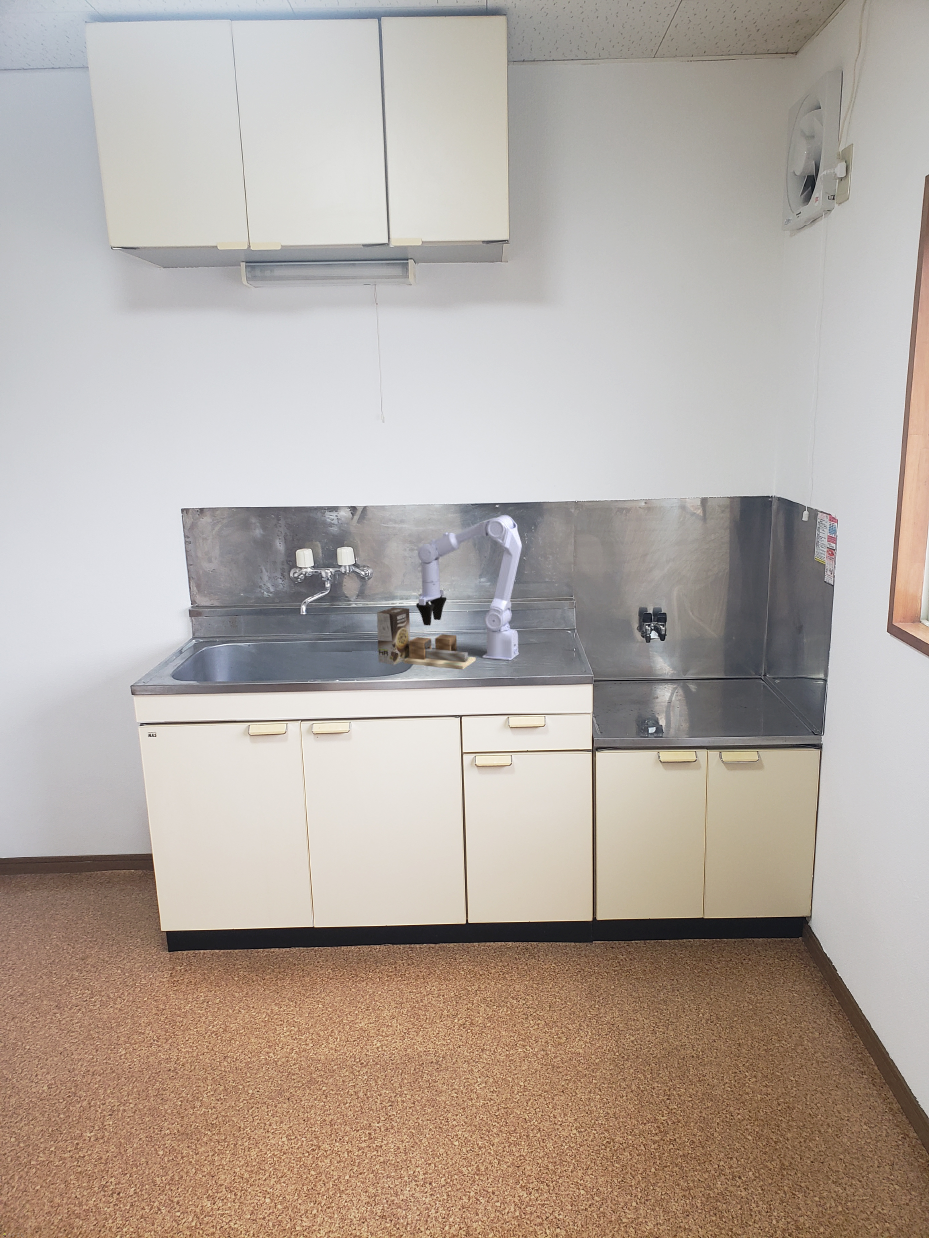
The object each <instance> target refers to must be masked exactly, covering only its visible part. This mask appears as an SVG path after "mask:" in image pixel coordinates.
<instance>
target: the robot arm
mask: <svg viewBox="0 0 929 1238" xmlns="http://www.w3.org/2000/svg"><path fill="white" fill-rule="evenodd" d="M478 536H483V537H488V536H489V537H490V538H491V539H492V540H493V541H495V542H497V543H498V544H499V546H500V547H501V548H502V549H503V555H502V558H501V564H500V568H499V572H498V577H497V581H496V587H495V591H494V596H493V599H492V601H491V604H490V605H489V610H488V611H487V612H486V614H485V616H484V618H483V619H484V620H483V621H484V625H485V627H486V653H485V654H483V655H482V658H483V659H493V660H503V661H512V660H513V659H515V658H516V657H517V656H518V655H519V654H520V652H519V634H518V631H517V630H516V629H512V628H511V626H510V623H509V622H510V621H511V620H512V616H513V614H512V610H511V608H512V602H511V597H512V592H513V589H514V583H515V579H516V575H517V570H518V567H519V566H518V565H519V562H520V557H521V553H522V547H523V546H522V545H523V544H522V541H521V538H520V534H519V531H518V524H517V523H516V521H514V519H513V518H512V517H511V516H509V515H507V514H501V515H499V516H498V517H492V518H489V519H486V520H483V521H481V522H477V523H476V524H474V525H472V526H470V527H468V528H466V529H464V530H462V531H461V532H458V533H457V534H456V533H454V532H448V531H447V532H444V533H443V534H442V536H441V537H438V538H436V539H435V538H433V539H431V540H430V542H428V543H425V544H422V545H421V546H420V547H419V548H418V551H417V556H418V560H420V565H421V592H420V593H419V594H418V596H419V597H420V598H418V602H417V603H415V604H416V605H415V606H416V608H417V610H418V612H419V614H420V617H421V619H422V623H423V625H424V626H431V625H432V616H433V620H435V621H441V619H442V616H443V610H444V607H445V604H446V602H447V597H446V596H444V595H445V594H444V591H445V590H444V589H441V581H440V579H441V578H440V577H441V576H440V558H442V557H444V556H447V555H449V554H451V553H453V552H455V551H457V550H459V549H460V547H461V544H462V543H464V542H466V541H469V540H471V539H474V538H475V537H478Z"/></svg>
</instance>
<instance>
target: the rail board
mask: <svg viewBox="0 0 929 1238" xmlns="http://www.w3.org/2000/svg"><path fill="white" fill-rule="evenodd" d="M409 653H410V656H409V657H408V658H406V659H404V660H403V661H402V662H403V664H408V665H409V664H410V665H416V666H417V665H418V666H419V665H420V666H427V667H429V666H430V667H436V668H437V667H439V668H448V669H456V670H457V669H458V670H464V669H465V668H467V667H468V666H470V665H471V664H473V663H475V661H476V657H475V656H474V657H473V656H469V655H468V652H466V651H447V650H436V648H432V638H431V637H421V636H416V637H414V638H413V639H410V641H409Z"/></svg>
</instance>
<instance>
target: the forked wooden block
mask: <svg viewBox="0 0 929 1238" xmlns="http://www.w3.org/2000/svg"><path fill="white" fill-rule="evenodd" d="M434 642H435V643H434V644H435V645H434V646H435V648H434V649H436V650H447V651H457V649H458V647H457V642H458V641H457V635H454V634H445V633H444V634H443V633H441V634H440V635H439V636H437V637H435V638H434ZM457 652H458V651H457Z"/></svg>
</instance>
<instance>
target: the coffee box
mask: <svg viewBox="0 0 929 1238" xmlns="http://www.w3.org/2000/svg"><path fill="white" fill-rule="evenodd" d="M376 617H377V618H376V623H377V625H376V627H377V650H378V651H377V657H378V663H380V664H381V663H382V664H386V665H387V664H388V665H392V666H394V665H397V664H399V663H402V662H404V661H403V660H404V659H406V658H408V657H409V656H410V653H409V641H410V640H411V626H410V625H411V623H410V608H404V607H396V606H394V607H390V608H386V609H384V610H381V611H377V612H376Z"/></svg>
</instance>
